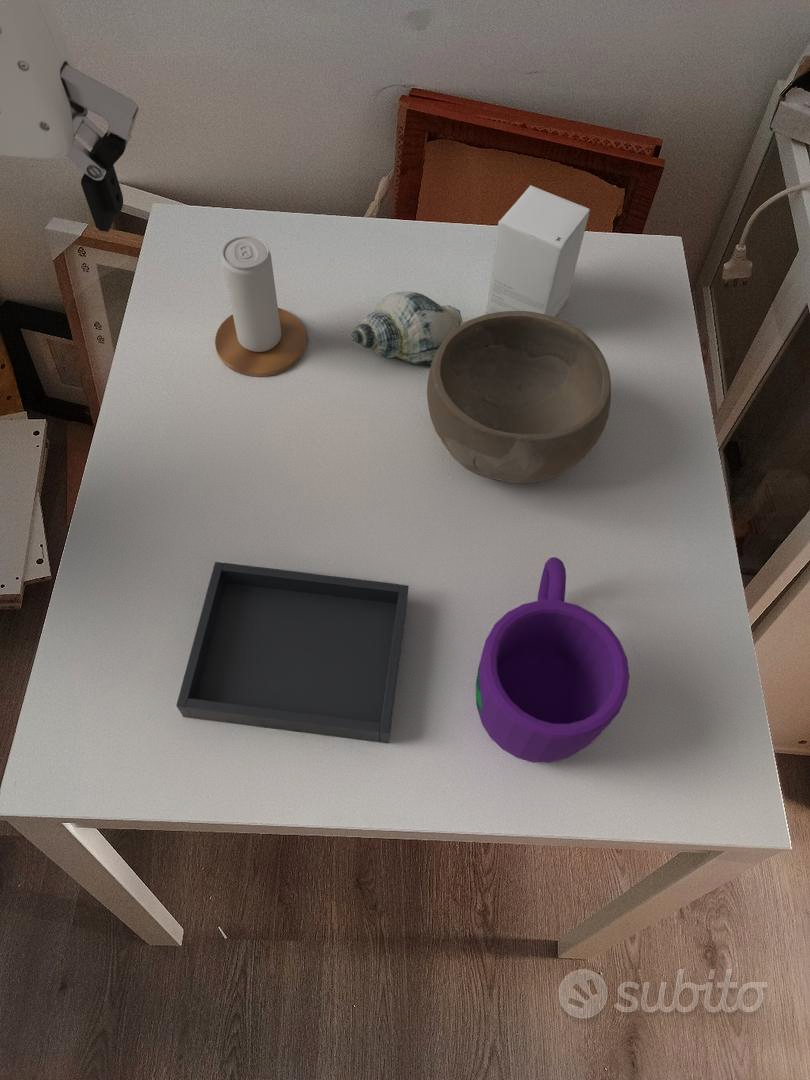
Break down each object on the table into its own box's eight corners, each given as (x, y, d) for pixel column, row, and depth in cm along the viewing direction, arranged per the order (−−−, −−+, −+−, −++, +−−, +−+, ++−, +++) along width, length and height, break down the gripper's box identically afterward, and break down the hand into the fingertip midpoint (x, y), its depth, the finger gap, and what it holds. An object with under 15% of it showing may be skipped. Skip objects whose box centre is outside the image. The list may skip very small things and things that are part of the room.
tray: (183, 717, 70) (175, 705, 68) (220, 576, 77) (214, 561, 74) (388, 743, 70) (389, 733, 67) (407, 599, 76) (408, 585, 74)
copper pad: (206, 371, 89) (205, 367, 89) (227, 305, 94) (226, 301, 94) (297, 381, 89) (297, 377, 88) (314, 314, 94) (313, 310, 93)
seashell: (458, 374, 92) (350, 366, 92) (462, 309, 93) (355, 301, 93) (463, 356, 86) (348, 347, 86) (467, 286, 87) (353, 278, 86)
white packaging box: (569, 300, 96) (593, 208, 85) (539, 339, 93) (561, 249, 82) (513, 275, 98) (530, 182, 87) (482, 313, 95) (497, 221, 84)
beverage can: (242, 358, 90) (224, 272, 79) (234, 326, 92) (216, 238, 81) (286, 350, 90) (274, 264, 80) (277, 319, 93) (265, 231, 82)
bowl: (452, 354, 92) (460, 285, 83) (609, 399, 89) (634, 332, 80) (400, 475, 83) (403, 412, 75) (571, 528, 81) (595, 469, 72)
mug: (598, 782, 68) (631, 748, 60) (462, 762, 69) (475, 725, 60) (602, 596, 77) (631, 543, 69) (481, 579, 78) (495, 524, 69)
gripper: (-282, -55, 40) (-106, 233, 55) (66, -20, 40) (149, 262, 55) (-206, -125, 44) (-61, 162, 59) (112, -94, 43) (178, 188, 58)
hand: (40, 210), depth 57 cm, fingers open, 9 cm apart
